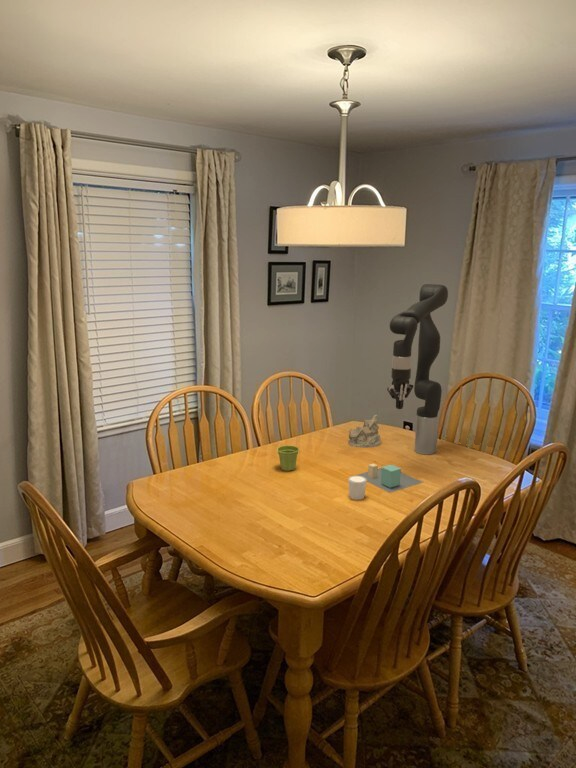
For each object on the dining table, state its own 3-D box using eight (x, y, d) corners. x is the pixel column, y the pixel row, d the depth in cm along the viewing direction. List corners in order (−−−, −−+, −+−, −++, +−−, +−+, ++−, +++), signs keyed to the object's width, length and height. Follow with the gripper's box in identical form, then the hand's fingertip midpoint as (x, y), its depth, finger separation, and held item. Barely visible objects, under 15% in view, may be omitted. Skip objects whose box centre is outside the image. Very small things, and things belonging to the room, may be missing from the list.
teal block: (390, 480, 220) (391, 464, 219) (400, 484, 216) (401, 468, 214) (380, 483, 217) (381, 467, 216) (390, 487, 213) (391, 471, 212)
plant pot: (273, 470, 233) (273, 451, 231) (282, 463, 241) (282, 444, 240) (294, 474, 230) (294, 454, 228) (302, 466, 238) (302, 446, 236)
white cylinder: (367, 494, 211) (368, 476, 209) (364, 501, 205) (364, 483, 203) (349, 491, 213) (350, 474, 212) (345, 498, 207) (346, 481, 205)
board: (387, 468, 236) (388, 455, 235) (423, 484, 220) (424, 470, 219) (354, 477, 226) (355, 463, 225) (389, 495, 210) (390, 480, 209)
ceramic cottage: (381, 437, 276) (380, 408, 272) (381, 449, 260) (380, 419, 256) (349, 437, 278) (348, 408, 275) (347, 449, 263) (346, 419, 259)
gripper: (406, 363, 230) (404, 404, 234) (382, 367, 223) (380, 409, 227) (420, 366, 224) (417, 408, 228) (396, 370, 217) (394, 413, 221)
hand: (399, 408), depth 227 cm, fingers closed
